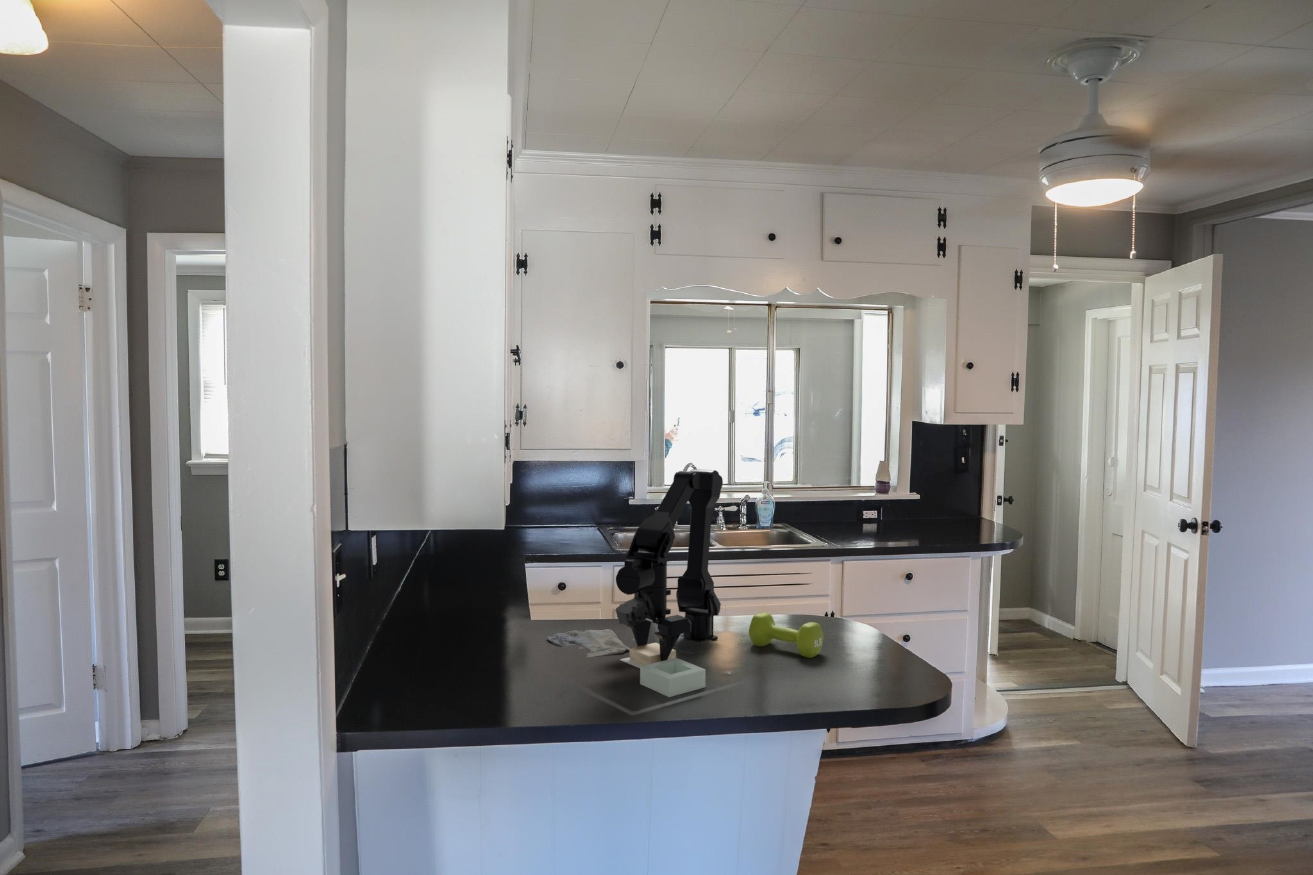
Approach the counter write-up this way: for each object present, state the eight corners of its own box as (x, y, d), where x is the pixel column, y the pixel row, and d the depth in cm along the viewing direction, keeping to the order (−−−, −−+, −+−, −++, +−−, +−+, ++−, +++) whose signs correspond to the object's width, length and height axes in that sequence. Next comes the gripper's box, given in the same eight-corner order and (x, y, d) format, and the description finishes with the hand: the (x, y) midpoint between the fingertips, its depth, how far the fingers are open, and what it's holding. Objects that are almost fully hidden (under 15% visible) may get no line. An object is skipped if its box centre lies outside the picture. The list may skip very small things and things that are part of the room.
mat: (656, 653, 183) (656, 650, 183) (685, 665, 175) (685, 662, 175) (619, 662, 177) (619, 659, 177) (648, 674, 169) (648, 671, 169)
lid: (655, 653, 181) (655, 642, 181) (675, 662, 176) (676, 650, 175) (629, 659, 177) (629, 648, 177) (649, 668, 171) (649, 656, 171)
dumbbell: (745, 646, 189) (745, 615, 189) (764, 639, 195) (764, 608, 195) (808, 662, 178) (809, 629, 178) (826, 653, 184) (827, 621, 184)
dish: (675, 677, 168) (675, 657, 168) (705, 689, 161) (705, 669, 160) (640, 686, 162) (640, 666, 162) (669, 700, 155) (669, 678, 155)
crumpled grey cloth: (633, 657, 182) (633, 647, 182) (565, 665, 177) (565, 654, 177) (609, 635, 199) (609, 625, 199) (547, 641, 194) (547, 631, 193)
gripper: (596, 582, 178) (596, 654, 178) (650, 599, 163) (649, 677, 164) (638, 575, 185) (637, 644, 185) (693, 591, 170) (692, 666, 171)
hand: (652, 657), depth 176 cm, fingers closed on lid, 7 cm apart
